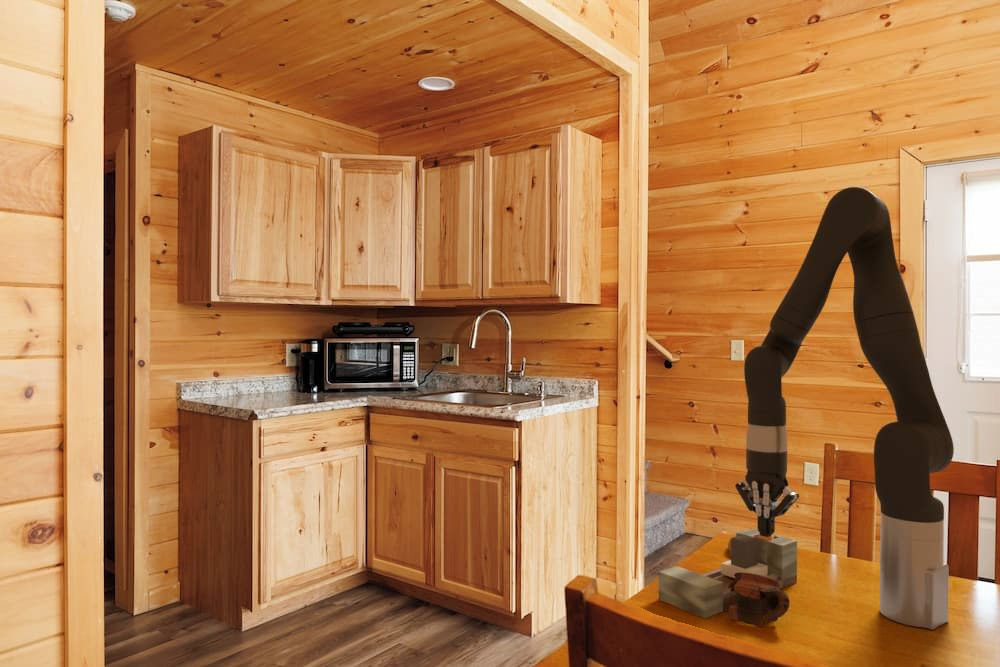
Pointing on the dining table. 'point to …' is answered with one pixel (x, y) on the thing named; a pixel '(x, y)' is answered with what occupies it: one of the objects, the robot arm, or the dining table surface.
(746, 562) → the carriage
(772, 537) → the plunger
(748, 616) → the pottery mug
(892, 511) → the robot arm
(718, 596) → the rail base
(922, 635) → the dining table surface
